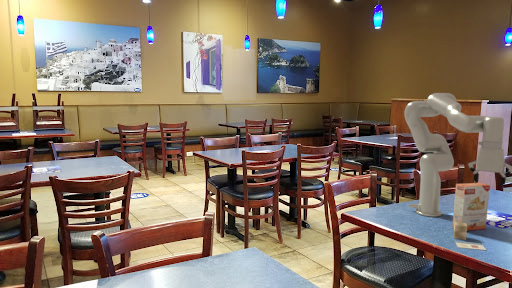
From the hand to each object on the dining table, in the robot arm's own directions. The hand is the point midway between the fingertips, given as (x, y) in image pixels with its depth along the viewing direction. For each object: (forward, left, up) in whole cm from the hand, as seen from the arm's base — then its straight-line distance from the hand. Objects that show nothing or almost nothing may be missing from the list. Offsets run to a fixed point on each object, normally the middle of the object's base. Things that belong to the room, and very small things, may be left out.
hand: (488, 184), depth 168 cm
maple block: (-11, -10, -22) cm, 27 cm away
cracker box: (-6, +5, -23) cm, 24 cm away
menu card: (-8, -19, -22) cm, 30 cm away
